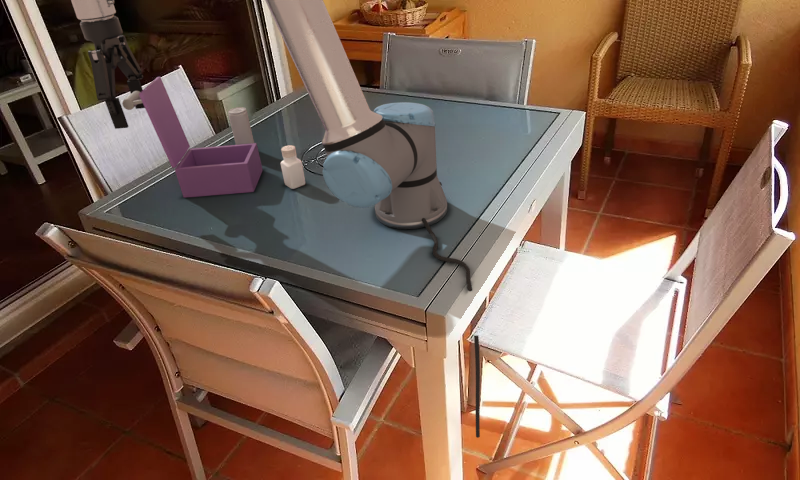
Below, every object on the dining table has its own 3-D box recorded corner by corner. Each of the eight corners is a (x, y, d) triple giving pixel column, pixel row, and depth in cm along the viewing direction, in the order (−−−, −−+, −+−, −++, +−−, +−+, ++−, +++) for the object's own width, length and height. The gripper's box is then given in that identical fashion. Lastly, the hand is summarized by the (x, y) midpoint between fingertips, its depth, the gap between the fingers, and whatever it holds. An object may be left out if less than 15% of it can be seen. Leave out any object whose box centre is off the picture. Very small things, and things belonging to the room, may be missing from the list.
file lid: (160, 76, 132) (132, 82, 133) (142, 93, 122) (112, 99, 123) (190, 146, 142) (164, 151, 142) (175, 167, 132) (147, 172, 132)
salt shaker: (292, 190, 135) (284, 153, 129) (283, 185, 137) (276, 148, 132) (306, 184, 137) (300, 147, 131) (298, 179, 139) (291, 143, 134)
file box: (262, 170, 145) (256, 142, 142) (254, 192, 136) (247, 163, 132) (197, 175, 146) (189, 148, 142) (183, 197, 136) (174, 169, 132)
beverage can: (259, 151, 156) (250, 108, 149) (244, 157, 153) (234, 114, 146) (249, 147, 159) (239, 105, 152) (234, 153, 156) (223, 111, 149)
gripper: (91, 29, 109) (128, 136, 121) (136, 5, 130) (165, 98, 141) (52, 33, 109) (93, 139, 121) (104, 8, 130) (135, 101, 141)
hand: (132, 117), depth 131 cm, fingers open, 12 cm apart
